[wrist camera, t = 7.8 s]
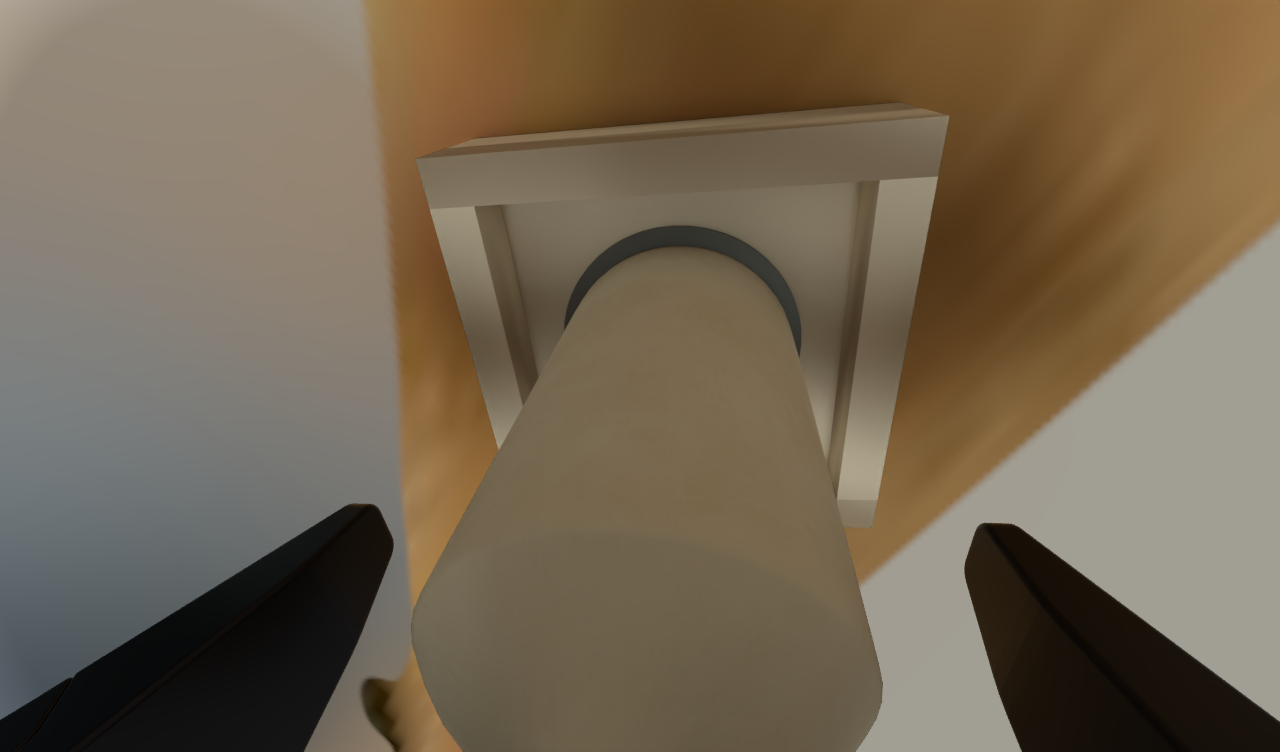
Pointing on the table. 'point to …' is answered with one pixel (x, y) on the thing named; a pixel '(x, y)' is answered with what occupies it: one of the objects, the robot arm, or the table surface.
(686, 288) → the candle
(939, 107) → the table surface
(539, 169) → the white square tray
